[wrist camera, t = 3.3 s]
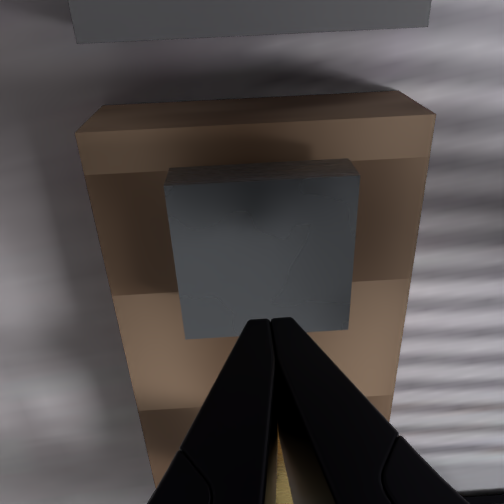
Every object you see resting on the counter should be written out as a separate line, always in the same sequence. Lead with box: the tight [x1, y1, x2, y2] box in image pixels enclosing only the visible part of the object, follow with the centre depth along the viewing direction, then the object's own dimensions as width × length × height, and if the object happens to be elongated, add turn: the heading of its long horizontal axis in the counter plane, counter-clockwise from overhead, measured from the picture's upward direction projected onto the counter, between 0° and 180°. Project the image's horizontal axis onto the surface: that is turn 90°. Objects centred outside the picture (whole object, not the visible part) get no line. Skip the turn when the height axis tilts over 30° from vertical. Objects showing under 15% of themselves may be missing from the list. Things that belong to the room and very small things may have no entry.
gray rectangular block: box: [164, 158, 360, 340], centre depth 14 cm, size 4×4×5 cm
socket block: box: [75, 91, 436, 488], centre depth 17 cm, size 9×17×3 cm, turn 2°
